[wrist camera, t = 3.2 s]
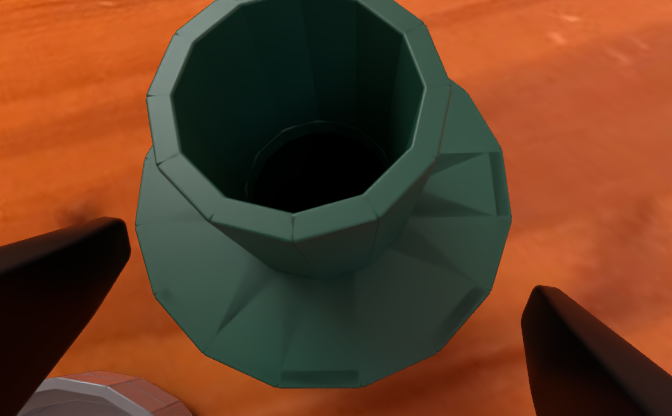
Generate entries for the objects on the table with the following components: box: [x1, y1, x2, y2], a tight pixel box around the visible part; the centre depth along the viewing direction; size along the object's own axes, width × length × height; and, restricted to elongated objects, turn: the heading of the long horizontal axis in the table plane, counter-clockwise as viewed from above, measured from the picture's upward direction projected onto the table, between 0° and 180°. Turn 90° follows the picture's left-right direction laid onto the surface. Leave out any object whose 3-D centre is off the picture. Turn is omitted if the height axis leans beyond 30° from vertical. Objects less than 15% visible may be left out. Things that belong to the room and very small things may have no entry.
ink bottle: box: [135, 0, 512, 388], centre depth 11 cm, size 7×7×14 cm
